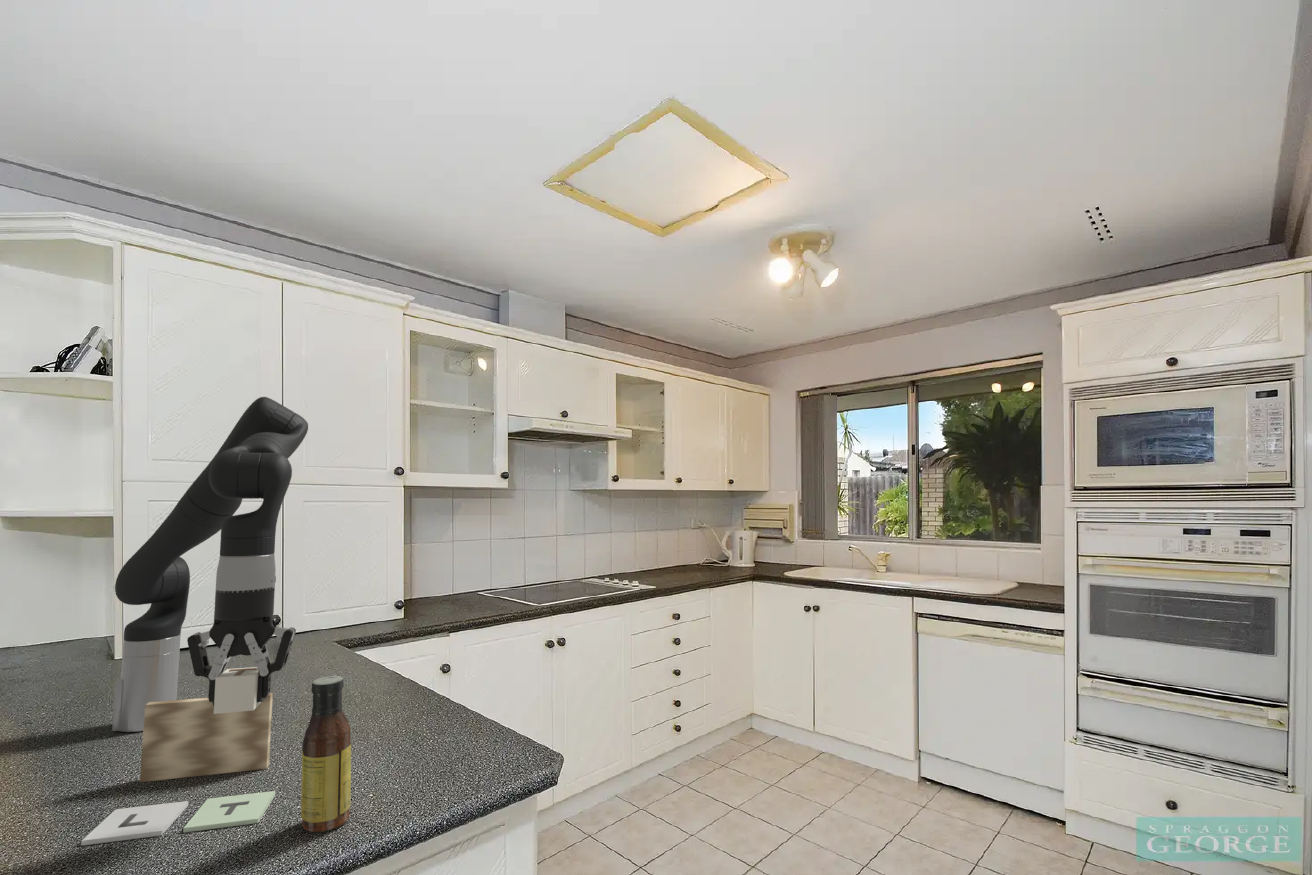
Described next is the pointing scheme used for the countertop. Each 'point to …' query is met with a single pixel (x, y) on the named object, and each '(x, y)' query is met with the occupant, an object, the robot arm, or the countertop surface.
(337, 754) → the sauce bottle
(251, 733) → the thin wooden plank
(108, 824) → the board
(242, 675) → the cube
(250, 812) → the board
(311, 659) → the countertop surface
